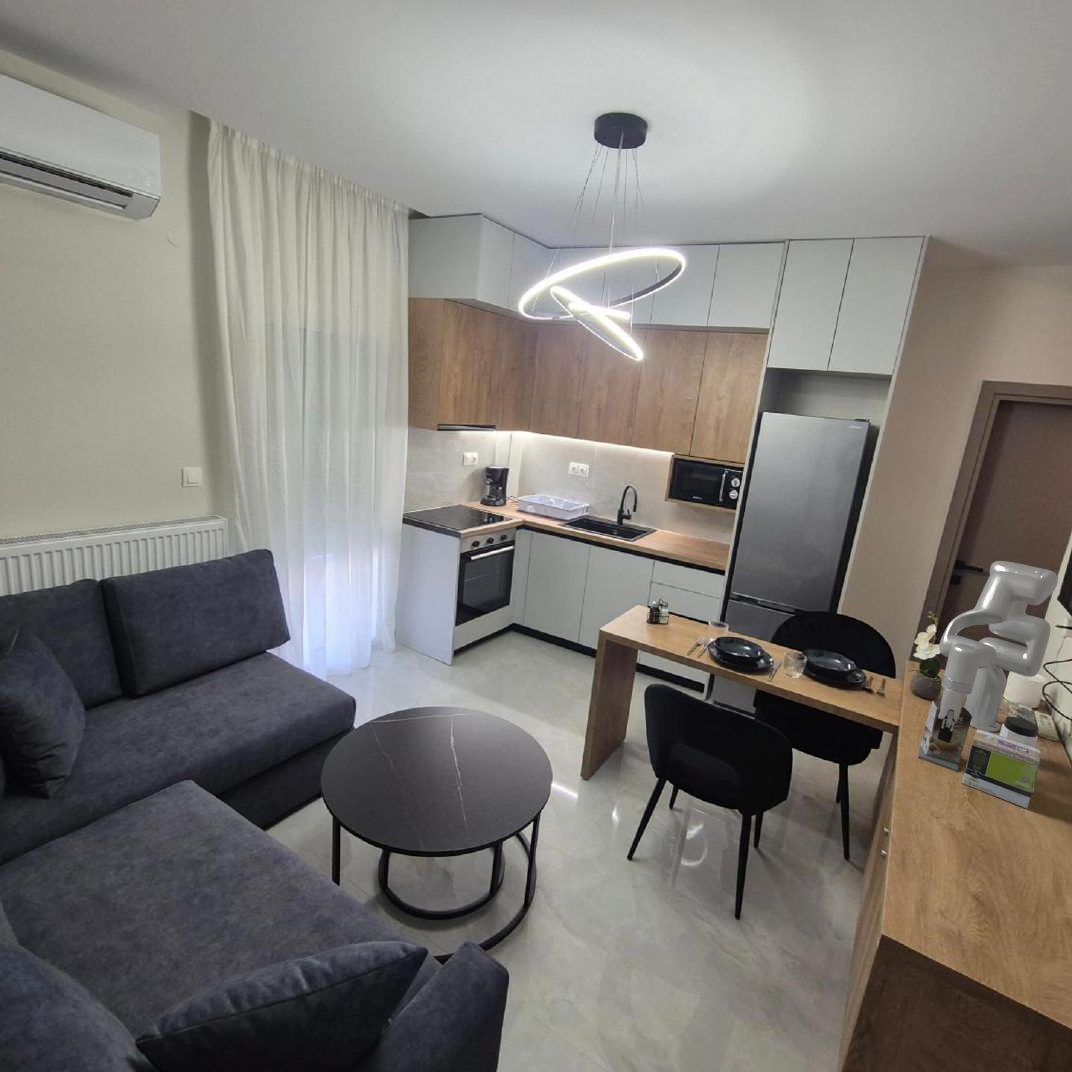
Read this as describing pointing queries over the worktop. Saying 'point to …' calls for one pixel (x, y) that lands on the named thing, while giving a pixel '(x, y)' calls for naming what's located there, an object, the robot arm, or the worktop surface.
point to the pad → (938, 761)
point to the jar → (1020, 730)
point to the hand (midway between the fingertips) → (944, 734)
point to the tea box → (1002, 767)
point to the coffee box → (942, 748)
